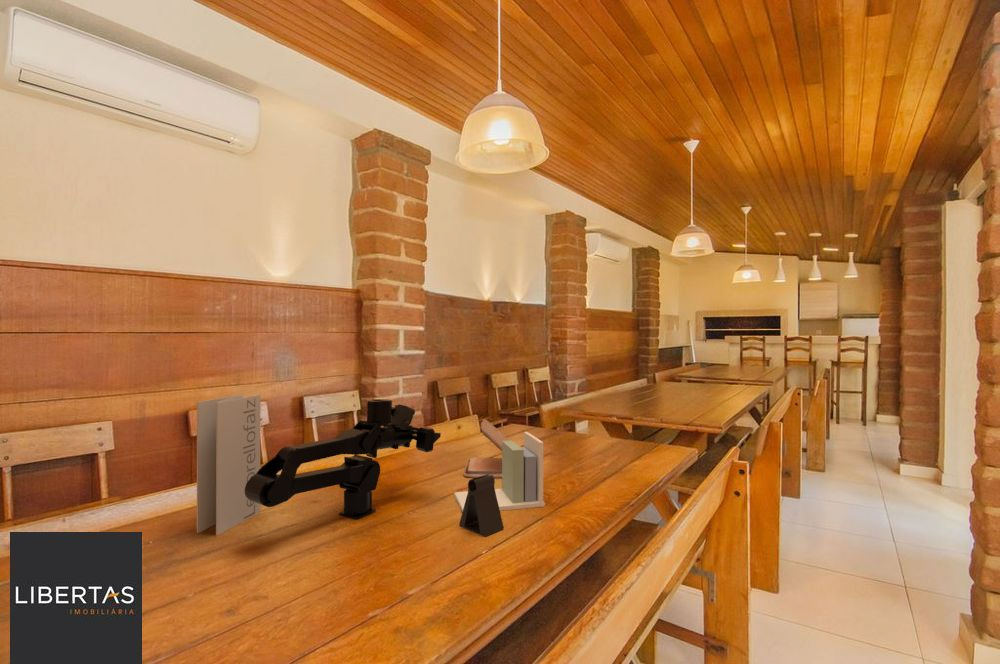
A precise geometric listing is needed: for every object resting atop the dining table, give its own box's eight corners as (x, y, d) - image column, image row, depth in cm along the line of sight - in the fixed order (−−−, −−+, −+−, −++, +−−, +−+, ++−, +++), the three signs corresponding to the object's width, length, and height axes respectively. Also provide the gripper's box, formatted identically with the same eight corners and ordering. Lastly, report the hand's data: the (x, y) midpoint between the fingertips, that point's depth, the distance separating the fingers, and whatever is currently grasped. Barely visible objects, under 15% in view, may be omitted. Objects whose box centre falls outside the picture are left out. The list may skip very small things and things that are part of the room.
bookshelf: (463, 513, 123) (463, 447, 123) (454, 495, 137) (454, 435, 137) (544, 506, 129) (545, 442, 129) (528, 489, 142) (528, 431, 142)
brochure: (217, 535, 110) (217, 402, 110) (196, 533, 111) (196, 402, 111) (260, 512, 124) (260, 394, 124) (241, 510, 125) (241, 394, 125)
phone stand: (503, 529, 114) (504, 478, 114) (485, 537, 109) (485, 484, 109) (477, 519, 120) (477, 470, 120) (459, 526, 116) (459, 475, 116)
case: (528, 479, 153) (529, 428, 153) (462, 478, 153) (462, 427, 153) (526, 463, 173) (526, 417, 173) (467, 462, 174) (468, 417, 174)
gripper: (413, 412, 126) (454, 409, 139) (368, 403, 137) (410, 400, 150) (410, 455, 126) (451, 448, 138) (365, 442, 137) (406, 437, 150)
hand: (429, 432), depth 144 cm, fingers open, 9 cm apart
